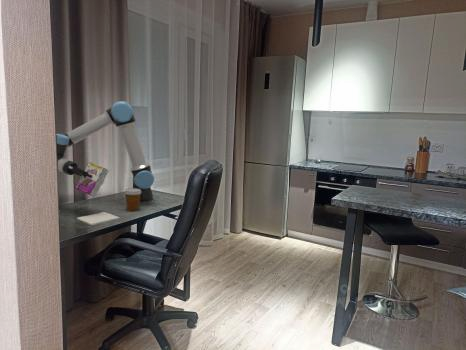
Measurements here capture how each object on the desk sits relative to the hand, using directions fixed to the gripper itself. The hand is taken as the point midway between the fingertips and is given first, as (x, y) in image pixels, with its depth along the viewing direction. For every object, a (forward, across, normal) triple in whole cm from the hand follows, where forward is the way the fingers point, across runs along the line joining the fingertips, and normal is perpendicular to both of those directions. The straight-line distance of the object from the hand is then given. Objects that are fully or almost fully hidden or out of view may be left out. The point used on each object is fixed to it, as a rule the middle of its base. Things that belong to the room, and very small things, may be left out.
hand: (100, 180), depth 180 cm
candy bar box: (-5, 0, -9) cm, 11 cm away
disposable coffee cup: (+13, -23, -7) cm, 27 cm away
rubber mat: (+8, -3, -19) cm, 21 cm away
